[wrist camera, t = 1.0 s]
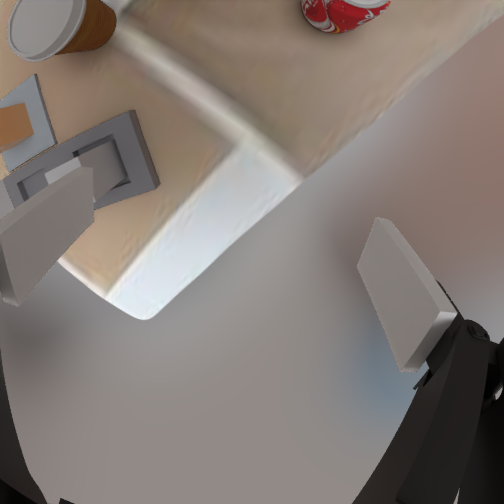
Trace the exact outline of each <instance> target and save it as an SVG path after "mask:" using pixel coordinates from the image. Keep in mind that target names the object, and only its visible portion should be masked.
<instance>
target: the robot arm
mask: <svg viewBox="0 0 504 504" xmlns="http://www.w3.org/2000/svg"><path fill="white" fill-rule="evenodd" d="M93 222H94V205H93V168H90V167H78V168H76V169H74V170H73V171H71V172H69V173H68V174H66V175H65V176H63V177H61V178H60V179H58V180H57V181H55V182H53V183H52V184H50V185H49V186H47V187H46V188H44V189H43V190H41V191H40V192H38V193H37V194H35V195H34V196H32V197H31V198H29V199H28V200H26V201H25V202H23V203H22V204H21V205H19V206H18V207H16V208H15V209H14V210H13V211H11V212H10V213H8V214H7V215H6V216H4V217H3V218H2V219H0V290H1V294H2V297H3V299H4V301H5V302H7V303H10V304H13V305H16V306H19V305H20V304H21V303H22V302H23V300H24V299H25V298H26V297H27V295H28V294H29V293H30V292H31V290H32V289H33V288H34V287H35V286H36V285H37V283H38V282H39V281H40V280H41V279H42V277H43V276H44V275H45V274H46V273H47V272H48V270H49V269H50V268H51V267H52V266H53V265H54V264H55V262H56V261H57V260H58V259H59V258H60V257H61V256H62V255H63V254H64V252H65V251H66V250H67V249H68V248H69V247H70V246H71V245H72V244H73V243H74V242H75V241H76V240H77V239H78V238H79V236H80V235H81V234H82V233H83V232H84V231H85V230H86V229H87V228H88V227H89V226H90V225H91V224H92V223H93ZM357 268H358V270H359V272H360V275H361V277H362V279H363V282H364V284H365V286H366V288H367V291H368V293H369V295H370V298H371V300H372V302H373V305H374V307H375V309H376V312H377V314H378V317H379V319H380V322H381V324H382V326H383V329H384V332H385V334H386V336H387V339H388V342H389V345H390V347H391V350H392V352H393V355H394V358H395V360H396V363H397V366H398V369H399V371H400V372H417V371H418V369H419V368H420V367H421V366H422V364H423V363H424V362H425V360H426V362H427V364H428V366H429V369H428V371H427V372H426V373H425V374H424V376H423V377H422V378H421V379H420V381H419V382H418V383H417V384H416V385H415V387H414V388H413V389H414V390H416V389H417V388H418V389H417V392H416V394H415V396H414V398H413V400H412V403H411V405H410V407H409V409H408V411H407V413H406V415H405V417H404V419H403V421H402V423H401V425H400V427H399V428H398V430H397V432H396V434H395V436H394V438H393V440H392V441H391V443H390V445H389V447H388V449H387V450H386V452H385V454H384V455H383V457H382V459H381V461H380V462H379V464H378V465H377V467H376V469H375V470H374V472H373V473H372V475H371V477H370V478H369V480H368V481H367V483H366V484H365V486H364V487H363V489H362V490H361V492H360V493H359V495H358V496H357V497H356V499H355V500H354V502H353V503H352V504H453V503H454V501H455V498H456V496H457V493H458V490H459V496H458V503H457V504H504V338H503V339H502V341H501V342H500V344H497V343H494V342H491V341H490V337H489V335H488V333H487V331H486V330H485V329H484V328H483V327H482V326H480V325H479V324H478V323H476V322H474V321H472V320H464V318H463V317H462V315H461V314H460V312H459V310H458V309H457V307H456V306H455V305H454V303H453V301H451V298H450V297H449V296H448V294H446V291H445V290H444V288H443V287H442V285H441V284H440V283H439V282H438V281H437V280H436V279H434V277H433V276H432V275H431V273H430V272H429V270H428V269H427V268H426V266H425V265H424V263H423V262H422V261H421V259H420V258H419V257H418V256H417V254H416V253H415V251H414V250H413V249H412V248H411V246H410V245H409V244H408V242H407V241H406V240H405V238H404V237H403V236H402V235H401V233H400V232H399V231H398V230H397V228H396V227H395V226H394V225H393V223H392V222H391V221H390V220H388V219H383V218H379V217H376V218H375V221H374V223H373V226H372V229H371V231H370V234H369V237H368V239H367V242H366V245H365V247H364V250H363V252H362V255H361V257H360V260H359V262H358V265H357ZM502 387H503V390H502V393H501V395H500V397H499V398H498V399H497V400H496V399H495V394H496V393H497V392H498V391H499V390H500V389H501V388H502ZM459 488H460V489H459ZM0 504H47V502H46V500H45V498H44V496H43V494H42V492H41V490H40V489H39V487H38V485H37V484H36V483H35V481H34V480H33V478H32V477H31V475H30V473H29V471H28V468H27V466H26V463H25V460H24V457H23V454H22V450H21V447H20V444H19V440H18V437H17V433H16V430H15V426H14V423H13V418H12V414H11V409H10V405H9V400H8V395H7V390H6V385H5V379H4V373H3V366H2V359H1V351H0ZM59 504H74V503H71V502H69V501H66V500H64V499H62V498H60V502H59Z"/></svg>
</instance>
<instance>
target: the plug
mask: <svg viewBox="0 0 504 504" xmlns="http://www.w3.org/2000/svg"><path fill="white" fill-rule="evenodd" d="M32 134H34V131H33V128H32V125H31V122H30V119H29V116H28V112H27V109H26V105H25V103H21V104H16V105H12V106H8V107H4V108H0V153H2V152H4V151H6V150H9V149H11V148H13V147H15V146H16V145H18V144H19V143H21V142H22V141H23V140H25V139H26V138H28V137H29V136H31V135H32Z"/></svg>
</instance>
